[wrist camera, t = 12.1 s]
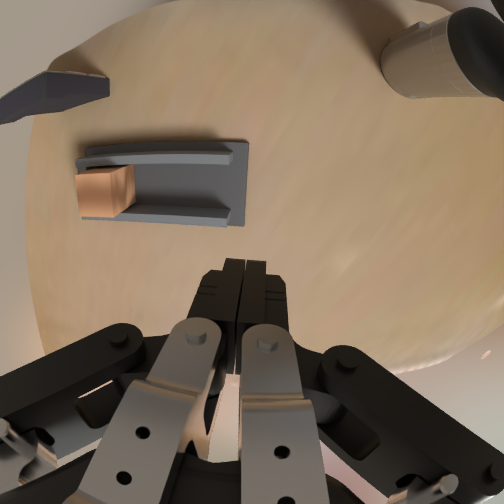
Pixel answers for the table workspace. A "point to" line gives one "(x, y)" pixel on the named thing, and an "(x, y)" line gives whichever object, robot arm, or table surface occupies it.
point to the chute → (180, 181)
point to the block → (105, 190)
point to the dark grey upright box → (52, 94)
